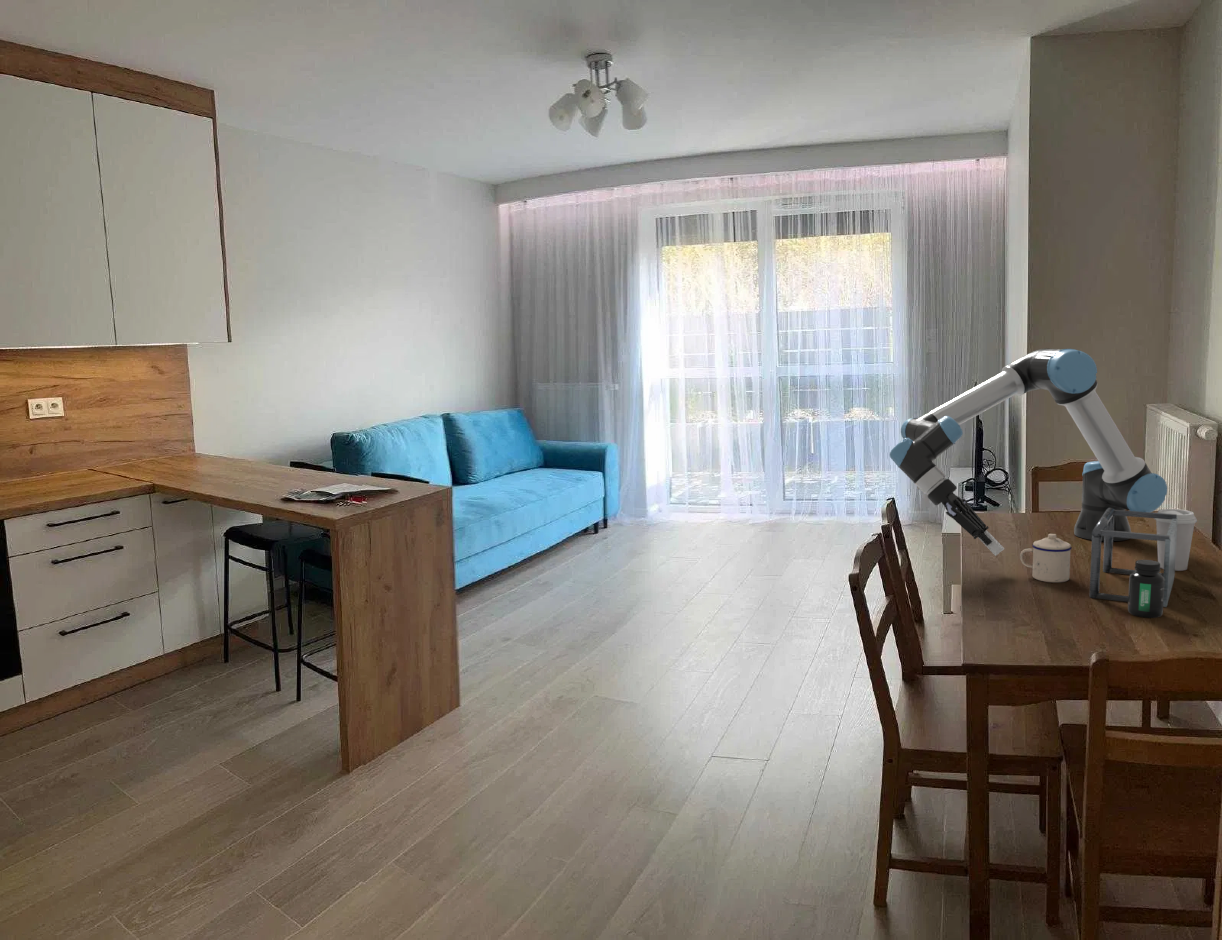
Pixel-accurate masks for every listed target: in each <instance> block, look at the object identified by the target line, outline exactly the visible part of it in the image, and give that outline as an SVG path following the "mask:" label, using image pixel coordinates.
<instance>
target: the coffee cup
mask: <svg viewBox="0 0 1222 940" xmlns="http://www.w3.org/2000/svg"><path fill="white" fill-rule="evenodd" d="M1157 513H1166V514H1177V516H1178V524H1177V541H1176V558H1175V572H1176V571H1178V572H1179V571H1180V572H1181V571H1186V570H1188V565H1189V558H1190V551H1191V545H1192V539H1193V534H1194V527H1195V523H1197V521H1198V520H1197V517H1196V516H1195V513H1194V512H1193V511H1190V510H1186V509H1179V508H1164V509H1159V510H1158V511H1157ZM1153 520H1155V523H1156V525H1155V526H1156V527H1155V528H1156V534H1159V535H1167V533H1168V530H1169V527H1170V524H1171V521H1172V520H1171V519H1158V518H1153ZM1156 543H1157V544H1156V546H1157V548H1156V549H1157V562H1159V563H1160V569H1162V570H1164V555H1165V541H1157V542H1156Z"/></svg>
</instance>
